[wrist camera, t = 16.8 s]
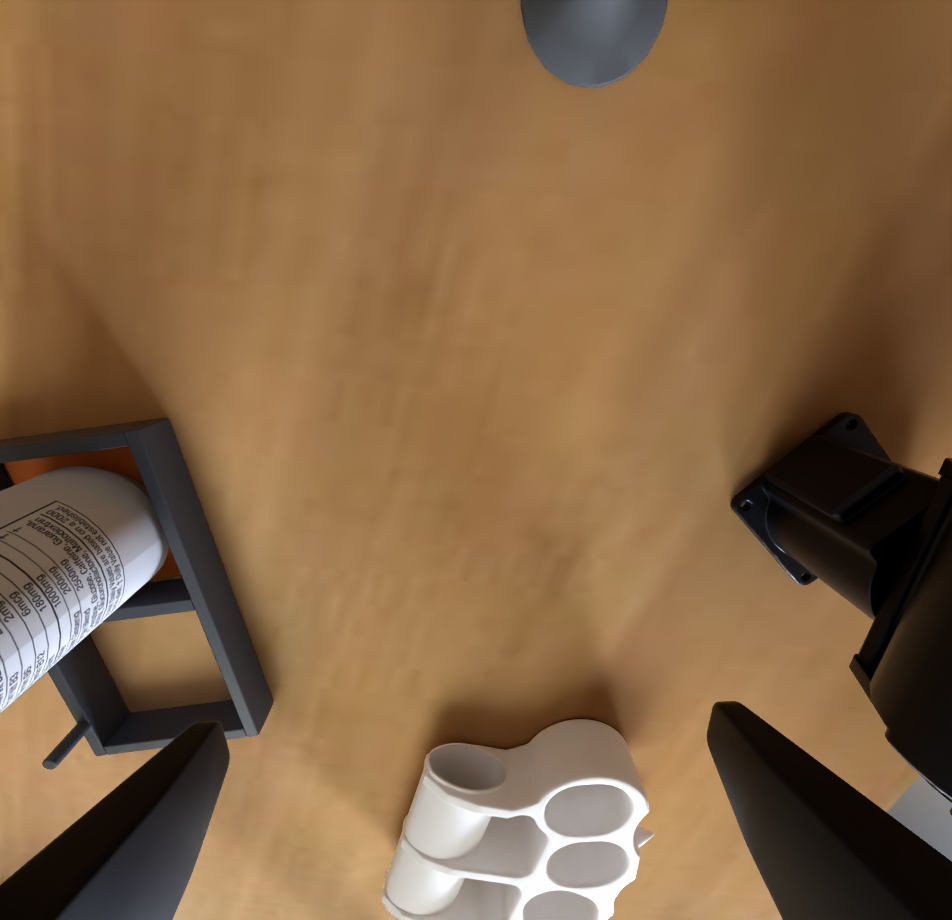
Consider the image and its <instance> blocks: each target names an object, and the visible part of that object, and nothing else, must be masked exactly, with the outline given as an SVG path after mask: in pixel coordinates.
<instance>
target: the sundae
mask: <svg viewBox="0 0 952 920" xmlns="http://www.w3.org/2000/svg"><path fill="white" fill-rule="evenodd" d="M666 7H667V0H521V10H522V16H523V22H524V27H525V30H526V34H527V37H528V41H529V43H530V45H531V46H532V48H533V50H534V52H535V54H536V55H537V57H538V58H539V60H540V61H541V62H542V64H543V65H544V66H545V68H546V69H548V70H549V71H550V72H551V73H553V74H554V75H555V76H556V77H558V78H560V79H561V80H563V81H565V82H567V83H568V84H571V85H576V86H581V87H600V86H603V85H607V84H610V83H612V82H615V81H617V80H619V79H621V78H624V77H625V76H626V75H627V74H628V73H629V72H631V71H632V70H633V69H634V68H635V67H636V66H637V65H638V64H639V63H640V62H641V61H642V60H643V59H644V58H645V57H646V56H647V54H648V52H649V51H650V49H651V47H652V46H653V44H654V42H655V40H656V38H657V36H658V34H659V31H660V29H661V27H662V25H663V21H664V16H665V12H666Z"/></svg>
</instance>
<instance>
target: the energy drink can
mask: <svg viewBox="0 0 952 920" xmlns="http://www.w3.org/2000/svg"><path fill="white" fill-rule="evenodd" d="M168 547H169V544H168V541H167V539H166V536H165V534H164V531H163V529H162V526H161V524H160V522H159V519H158V517H157V514H156V512H155V509H154V507H153V504H152V502H151V499H150V497H149V495H148V492H147V490H146V487H145V486H143V485H142V484H140V483H139V482H137V481H136V480H134V479H132V478H129V477H127V476H125V475H123V474H119V473H116V472H112V471H105V470H101V469H98V468H93V467H85V466H68V467H62V468H58V469H54V470H51V471H49V472H46V473H44V474H41V475H39V476H36V477H34V478H32V479H29V480H27V481H24V482H22V483H19V484H17V485H14V486H12V487H10V488H7V489H5V490H2V491H0V713H1V712H2V711H3V710H4V709H5V708H6V707H7V706H9V705H10V704H11V703H12V702H13V701H14V700H15V699H16V698H18V697H19V696H20V695H21V694H22V693H23V692H24V691H25V690H26V689H28V688H29V687H30V686H31V685H32V684H33V683H34V682H35V681H37V680H38V679H39V678H40V677H41V676H42V675H43V674H44V673H46V672H47V671H48V670H49V669H50V668H51V667H52V666H53V665H55V664H56V663H57V662H58V661H59V660H60V659H61V658H62V657H63V656H65V655H66V654H67V653H68V652H69V651H70V650H71V649H72V648H74V647H75V646H76V645H77V644H78V643H79V642H80V641H81V640H83V639H84V638H85V637H86V636H87V635H88V634H89V633H90V632H92V631H93V630H94V629H95V628H96V627H97V626H98V625H99V624H100V623H102V622H103V621H104V620H105V619H106V618H107V617H108V616H109V615H111V614H112V613H113V612H114V611H115V610H116V609H117V608H118V607H120V606H121V605H122V604H123V603H124V602H125V601H126V600H127V599H129V598H130V597H131V596H132V595H133V594H134V593H135V592H136V591H138V590H139V589H140V588H141V587H142V586H143V585H144V584H145V583H146V582H148V581H149V580H150V579H151V578H152V577H153V576H154V575H155V574H156V573H157V572H158V571H159V570H160V568H161V567H162V566H163V564H164V561H165V559H166V557H167V553H168Z"/></svg>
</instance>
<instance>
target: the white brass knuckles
mask: <svg viewBox="0 0 952 920" xmlns="http://www.w3.org/2000/svg"><path fill="white" fill-rule="evenodd" d="M648 812H649V803H648V799H647V796H646V793H645V790H644V788H643V785H642V782H641V780H640V777H639V774H638V772H637V769H636V766H635V764H634V761H633V759H632V756H631V753H630V751H629V748H628V746H627V743H626V742H625V740H624V738H623V737H622V736H621V735H620V734H619V733H618V732H617V731H616V730H615V729H613V728H612V727H610V726H608V725H606V724H604V723H602V722H598V721H594V720H588V719H574V720H567V721H563V722H559V723H556V724H554V725H551V726H549V727H547V728H545V729H544V730H542V731H541V732H539V733H538V734H537V735H536V736H535V737H534V738H533V739H532V740H531V741H530V742H529V743H528V744H525V745H522V746H519V747H515V748H512V749H508V750H503V749H497V748H492V747H486V746H481V745H471V744H465V743H449V744H444V745H441V746H438V747H435V748H434V749H432V750H431V751H430V753H428V754H426V757H425V760H424V770H423V772H422V775H421V778H420V781H419V784H418V787H417V790H416V793H415V796H414V799H413V801H412V804H411V807H410V810H409V813H408V815H407V816H405V819H404V822H403V830H402V833H401V836H400V839H399V842H398V845H397V848H396V851H395V854H394V857H393V860H392V862H391V865H390V868H389V871H387V872H386V874H385V878H384V885H383V889H382V902H383V903H384V906H385V907H386V909H387V910H388V911H389V912H390V913H391V914H392V915H393V916H395V917H396V918H397V919H399V920H607V919H608V918H609V917H611V916H612V915H613V914H614V907H613V903H614V899H615V897H616V896H618V895H617V894H618V893H619V891H620V890H621V889H622V888H623V887H624V886H626V885H627V884H628V883H630V882H631V881H633V880H634V879H635V877H636V873H637V868H638V863H639V858H640V851H639V847H640V846H642V845H643V844H644V843H645V842H647V841H648V840H649V839H650V838H652V837H653V836H654V835H655V834H654V833H652V832H650V831H649V830H647V829H645V828H643V827H642V826H640V825H638V823H639V822H640V821H641V819H642V818H643V817H644V816H645V815H646V814H647V813H648Z"/></svg>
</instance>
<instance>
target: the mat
mask: <svg viewBox="0 0 952 920" xmlns="http://www.w3.org/2000/svg"><path fill="white" fill-rule="evenodd" d="M4 464H5V466H6V468H7V470H8V472H9V474H10V476H11V478H12V480H13V481H14V483H15V485H17V484H19V483H22V482H24V481H27V480H29V479H32V478H34V477H36V476H39V475H41V474H44V473H46V472H49V471H51V470H54V469H58V468H62V467H68V466H85V467H93V468H98V469H101V470H105V471H112V472H116V473H119V474H123V475H125V476H127V477H129V478H132V479H134V480H136V481H137V482H139V483H140V484H142V485H143V486H145V485H144V482H143V480H142V477H141V475H140V472H139V470H138V468H137V465H136V463H135V460H134V458H133V455H132V453H131V450H130V448H129V446H125V447H118V448H110V449H103V450H95V451H88V452H81V453H73V454H66V455H58V456H51V457H43V458H36V459H29V460H21V461H14V462H6V463H4ZM175 575H181V573H180V571H179V568H178V566H177V563H176V561H175V558H174V556H173V553H172V551H171V549H170V546H169V547H168V553H167V557H166V559H165V561H164V564H163V566H162V567H161V568H160V570H159V571H158V572H157V573H156V574H155V575H154V576H153V577H152V578H159V577H167V576H175ZM152 578H151V579H152Z"/></svg>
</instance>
